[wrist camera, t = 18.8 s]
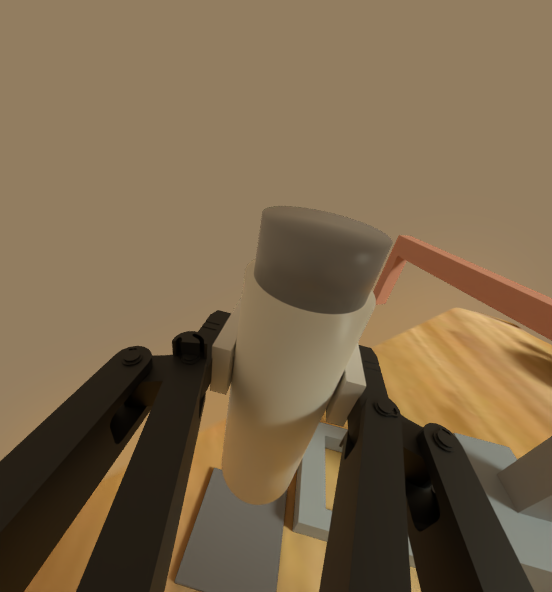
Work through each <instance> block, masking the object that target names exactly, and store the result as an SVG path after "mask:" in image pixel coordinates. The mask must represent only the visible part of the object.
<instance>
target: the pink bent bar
mask: <svg viewBox="0 0 552 592" xmlns="http://www.w3.org/2000/svg"><path fill="white" fill-rule="evenodd" d="M406 261H408V262H410V263H412V264H414V265H416V266H418V267H419V268H421V269H423V270H425V271H427V272H428V273H430V274H432V275H434V276H436V277H438V278H439V279H441V280H443V281H445V282H447V283H448V284H450V285H452V286H454V287H456V288H457V289H459V290H461V291H463V292H465V293H467V294H468V295H470V296H472V297H474V298H476V299H477V300H479V301H481V302H483V303H485V304H486V305H488V306H490V307H492V308H494V309H496V310H497V311H500V312H501V313H503V314H505V315H506V316H508V317H510V318H512V319H514V320H516V321H517V322H520V323H521V324H523V325H525V326H526V327H528V328H530V329H532V330H534V331H536V332H537V333H539V334H541V335H543V336H545V337H546V338H549V339H550V340H552V298H550V297H547V296H545V295H543V294H541V293H538V292H536V291H534V290H532V289H529V288H527V287H525V286H522V285H520V284H518V283H516V282H514V281H511V280H509V279H507V278H504V277H502V276H500V275H497V274H495V273H493V272H491V271H489V270H486V269H484V268H482V267H480V266H477V265H475V264H473V263H471V262H468V261H466V260H464V259H461V258H459V257H457V256H455V255H452V254H450V253H448V252H446V251H443V250H441V249H439V248H436V247H434V246H432V245H430V244H427V243H425V242H423V241H421V240H418V239H416V238H414V237H411V236H404V235H399V236H398V238H397V240H396V243H395V245H394V247H393V249H392V252H391V254H390V256H389V258H388V260H387V263H386V265H385V267H384V269H383V271H382V274H381V276H380V278H379V280H378V282H377V285H376V287H375V289H374V291H373V293H374V295H375V298H376V305H377V304H385V303H386V301H387V299H388V297H389V295H390V293H391V291H392V289H393V287H394V285H395V283H396V281H397V279H398V277H399V275H400V273H401V271H402V269H403V267H404V265H405V263H406Z"/></svg>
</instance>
